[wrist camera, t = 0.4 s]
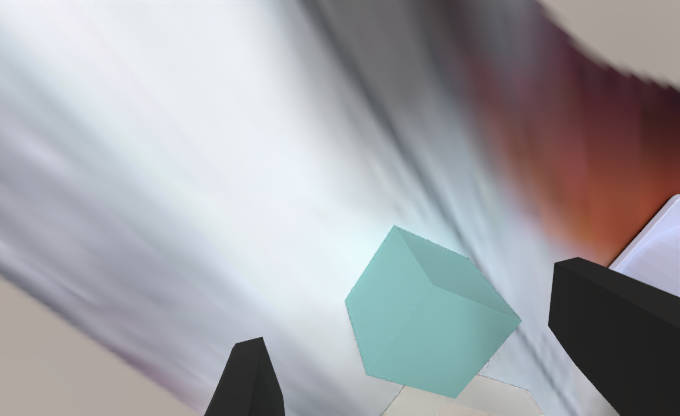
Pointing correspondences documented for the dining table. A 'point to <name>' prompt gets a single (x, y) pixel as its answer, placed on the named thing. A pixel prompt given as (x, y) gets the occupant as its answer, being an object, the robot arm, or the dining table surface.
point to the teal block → (426, 315)
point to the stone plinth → (466, 401)
